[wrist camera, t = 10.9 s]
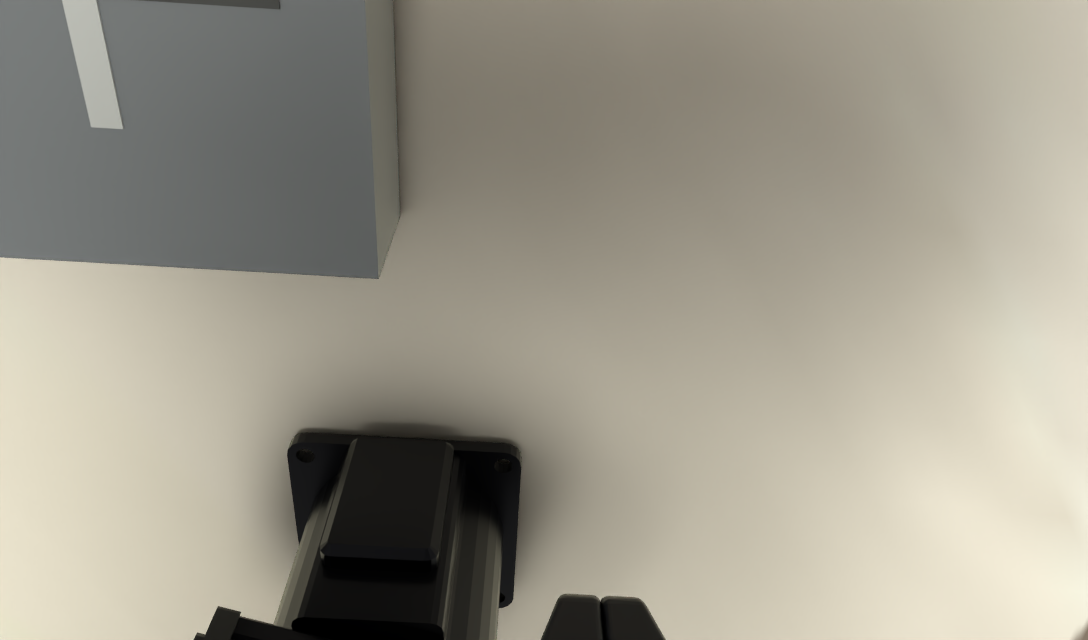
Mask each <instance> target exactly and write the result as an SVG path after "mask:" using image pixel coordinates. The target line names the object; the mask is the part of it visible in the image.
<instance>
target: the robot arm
mask: <svg viewBox="0 0 1088 640" xmlns="http://www.w3.org/2000/svg"><path fill="white" fill-rule="evenodd" d="M301 449H308V450H310V451H311V452H313V453H306V452H304V451H303V450H301ZM287 457H288V464H289V472H290V480H291V487H292V495H293V502H294V510H295V518H296V525H297V533H298V540H299V548H298V551H297V554H296V557H295V560H294V563H293V566H292V569H291V572H290V575H289V578H288V581H287V584H286V587H285V591H284V594H283V597H282V600H281V603H280V606H279V609H278V612H277V615H276V618H275V621H274V624H269V623H265V622H261V621H257V620H253V619H249V618H246V617H242V616H240V614H241V612H239V611H235V610H231V609H227V608H223V607H219V606H218V607H217V610H216V612H215V614H214V616H213V619H212V621H211V623H210V625H209V628H208V630H207V632H206V635H205V634H201V633H197V634H196V636H195V638H194V640H496V639H497V624H498V609H499V608H503V607H506V606H508V605H509V604H510V603H512V600H513V592H514V575H515V559H516V543H517V526H518V510H519V494H520V477H521V459H522V457H521V452H520V451H519V450H518V448H517V447H515V446H513V445H511V444H506V443H493V442H474V441H455V440H436V439H418V438H399V437H380V436H361V435H342V434H323V433H300V434H298V435H296V436H295V437H294V438H293V439H292V441H291V443H290V446H289V448H288V453H287ZM502 459H505V460H508V461H509V463H500V462H498V460H502ZM541 640H666V639H665V638H664V636H663V634H662V632H661V631H660V629H659V627H658V625H657V624H656V622H655V620H654V618H653V617H652V615H651V613H650V611H649V610H648V608H647V606H646V605H645V603H644V602H643V601H642V600H640V599H639V598H636V597H619V596H606V597H604V598H602V600H601V602H600V600H599V598H597V597H596V596H594V595H579V594H563V595H561V596H560V597H559V598H558V600H557V602H556V604H555V607H554V609H553V612H552V614H551V616H550V619H549V621H548V624H547V626H546V628H545V631H544V633H543V636H542V638H541Z"/></svg>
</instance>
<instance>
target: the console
mask: <svg viewBox="0 0 1088 640" xmlns="http://www.w3.org/2000/svg"><path fill="white" fill-rule="evenodd" d="M399 218H400V197H399V166H398V135H397V104H396V73H395V43H394V12H393V0H0V257H5V258H23V259H40V260H58V261H75V262H93V263H110V264H128V265H145V266H162V267H180V268H197V269H215V270H232V271H250V272H267V273H285V274H302V275H320V276H337V277H354V278H372V279H379V277H380V274H381V271H382V268H383V265H384V262H385V259H386V256H387V253H388V250H389V247H390V244H391V241H392V238H393V236H394V233H395V230H396V227H397V224H398V221H399Z"/></svg>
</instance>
